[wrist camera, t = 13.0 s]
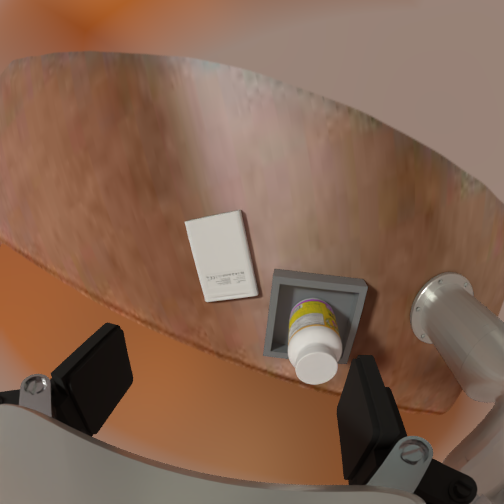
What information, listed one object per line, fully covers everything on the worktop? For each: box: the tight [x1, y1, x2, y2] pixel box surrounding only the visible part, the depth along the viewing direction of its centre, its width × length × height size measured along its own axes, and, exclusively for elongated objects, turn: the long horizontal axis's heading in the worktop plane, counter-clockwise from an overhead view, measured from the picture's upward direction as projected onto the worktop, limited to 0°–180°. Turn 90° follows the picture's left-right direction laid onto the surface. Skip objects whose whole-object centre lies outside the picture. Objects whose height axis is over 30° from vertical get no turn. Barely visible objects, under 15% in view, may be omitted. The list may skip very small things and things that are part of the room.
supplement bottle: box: [288, 298, 342, 384], centre depth 35 cm, size 7×7×13 cm
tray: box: [263, 269, 368, 364], centre depth 40 cm, size 13×13×3 cm
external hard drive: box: [185, 210, 259, 302], centre depth 41 cm, size 2×8×12 cm
